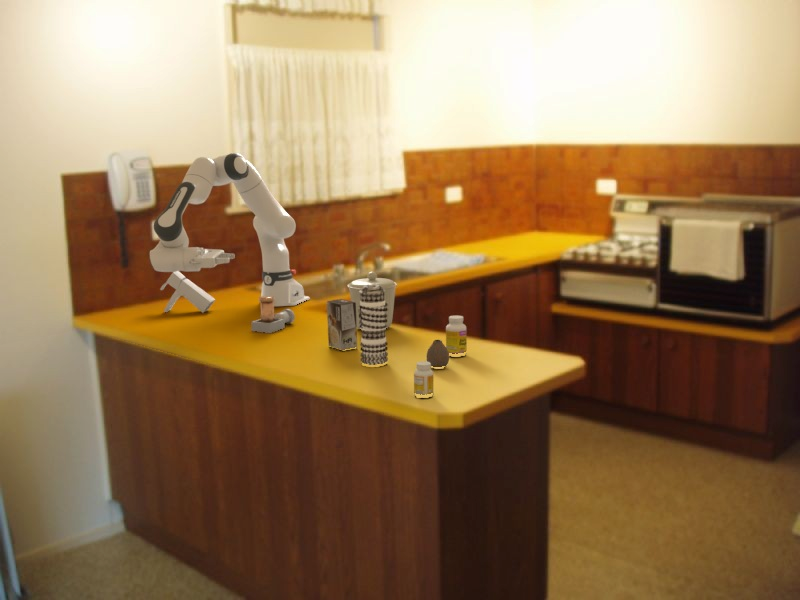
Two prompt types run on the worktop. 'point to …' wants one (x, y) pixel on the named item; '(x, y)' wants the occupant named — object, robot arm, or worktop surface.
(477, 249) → the worktop surface
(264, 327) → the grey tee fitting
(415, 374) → the supplement bottle
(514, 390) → the worktop surface
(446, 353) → the vase
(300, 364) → the worktop surface
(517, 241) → the worktop surface
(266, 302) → the copper pipe stub
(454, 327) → the supplement bottle
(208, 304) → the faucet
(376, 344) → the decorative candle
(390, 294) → the canister
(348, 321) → the coffee box
